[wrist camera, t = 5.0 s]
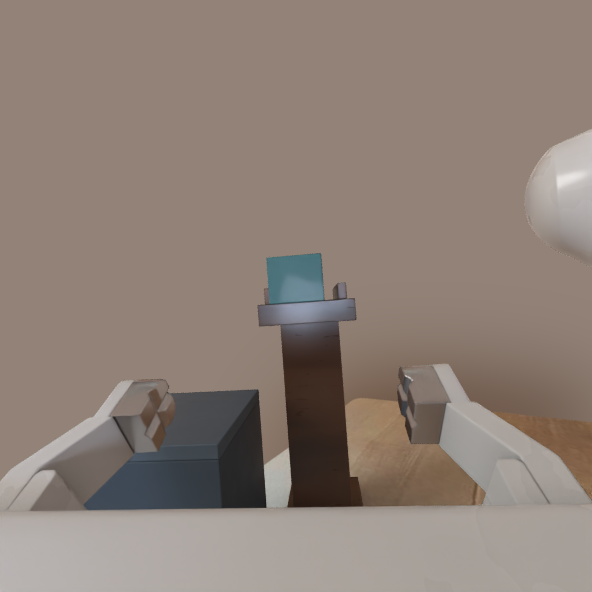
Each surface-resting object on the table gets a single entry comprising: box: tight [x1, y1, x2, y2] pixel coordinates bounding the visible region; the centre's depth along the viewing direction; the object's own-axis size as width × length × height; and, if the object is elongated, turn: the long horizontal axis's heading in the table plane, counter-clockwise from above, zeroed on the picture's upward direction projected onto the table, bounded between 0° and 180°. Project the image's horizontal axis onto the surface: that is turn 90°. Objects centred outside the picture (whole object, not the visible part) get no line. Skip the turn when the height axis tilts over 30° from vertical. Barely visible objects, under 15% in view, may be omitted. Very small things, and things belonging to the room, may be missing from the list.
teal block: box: [267, 253, 324, 304], centre depth 31 cm, size 23×4×3 cm, turn 175°
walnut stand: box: [258, 282, 363, 508], centre depth 36 cm, size 16×9×28 cm, turn 175°
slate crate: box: [83, 390, 267, 510], centre depth 26 cm, size 12×10×18 cm
